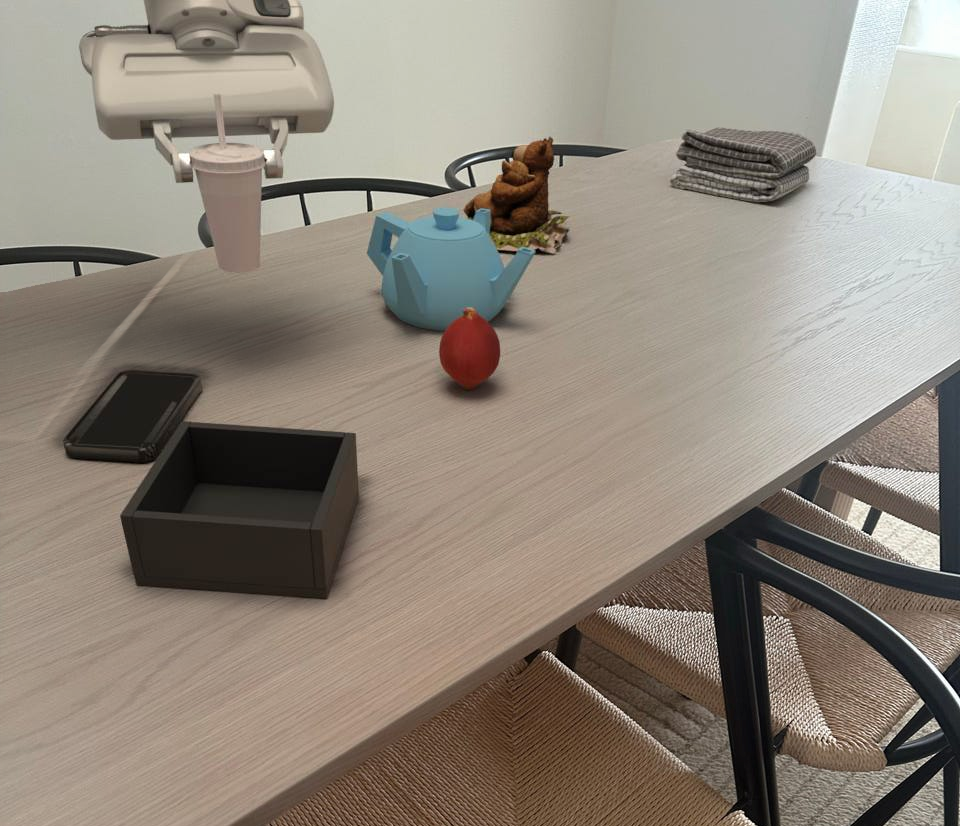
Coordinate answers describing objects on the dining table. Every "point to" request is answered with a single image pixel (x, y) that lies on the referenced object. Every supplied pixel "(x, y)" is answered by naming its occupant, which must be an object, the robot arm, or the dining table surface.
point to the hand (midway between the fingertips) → (230, 177)
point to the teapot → (443, 267)
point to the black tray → (244, 510)
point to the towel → (743, 163)
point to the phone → (133, 416)
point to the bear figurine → (522, 202)
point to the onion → (469, 349)
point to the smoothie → (231, 197)
